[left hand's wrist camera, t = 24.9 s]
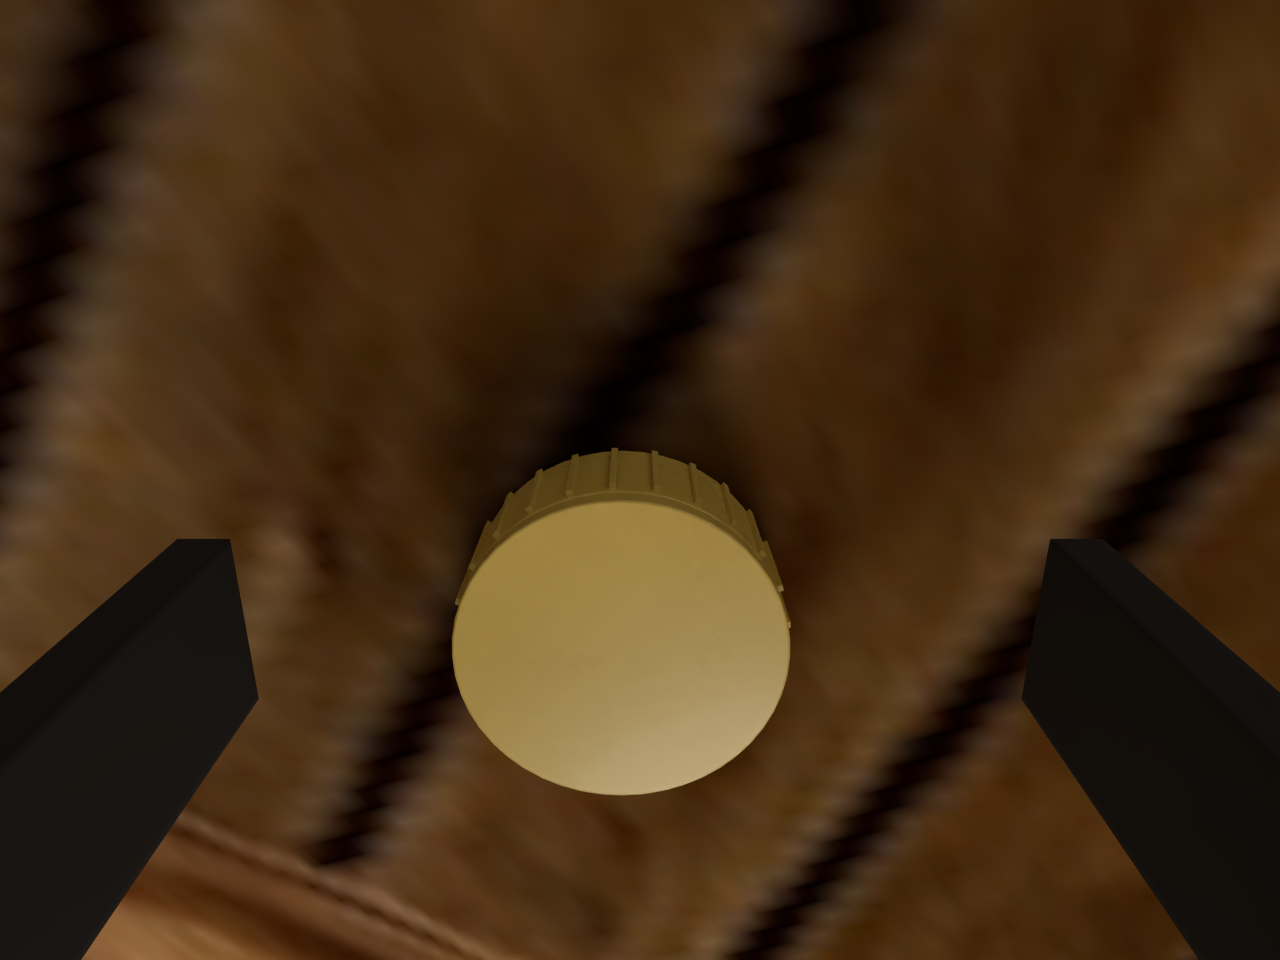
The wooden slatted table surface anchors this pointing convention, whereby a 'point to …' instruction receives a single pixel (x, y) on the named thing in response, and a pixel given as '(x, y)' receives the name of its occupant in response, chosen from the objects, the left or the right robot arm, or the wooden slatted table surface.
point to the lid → (621, 625)
